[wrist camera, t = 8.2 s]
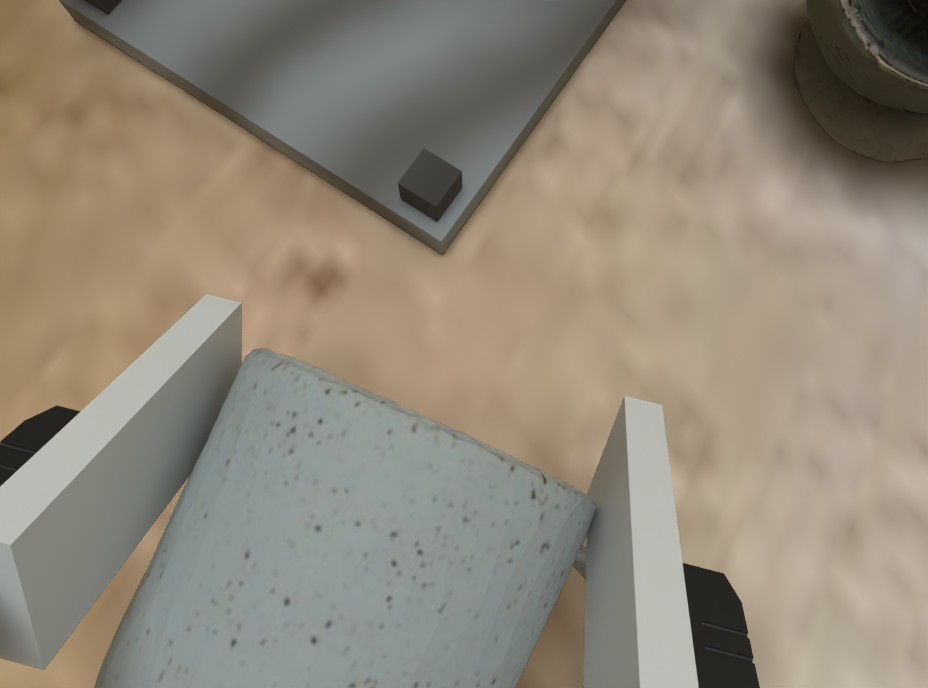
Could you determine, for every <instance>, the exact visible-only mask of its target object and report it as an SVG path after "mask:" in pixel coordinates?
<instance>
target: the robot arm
mask: <svg viewBox="0 0 928 688" xmlns="http://www.w3.org/2000/svg"><path fill="white" fill-rule="evenodd" d="M241 364H242V303H241V302H237V301H233V300H229V299H225V298H220V297H216V296H212V295H208V294H206V295H205V296H204V297H203V298H202V299H201V300H200V301H199V302H198V303H196V304H195V305H194V306H193V307H192V308H191V309H190V310H189V311H188V312H187V313H186V314H185V315H184V316H183V317H181V318H180V319H179V320H178V321H177V322H176V323H175V324H174V325H173V326H172V327H171V328H170V329H169V330H168V331H166V332H165V333H164V334H163V335H162V336H161V337H160V338H159V339H158V340H157V341H156V342H155V343H154V344H153V345H151V346H150V347H149V348H148V349H147V350H146V351H145V352H144V353H143V354H142V355H141V356H140V357H139V358H138V359H136V360H135V361H134V362H133V363H132V364H131V365H130V366H129V367H128V368H127V369H126V370H125V371H124V372H123V373H121V374H120V375H119V376H118V377H117V378H116V379H115V380H114V381H113V382H112V383H111V384H110V385H109V386H108V387H106V388H105V389H104V390H103V391H102V392H101V393H100V394H99V395H98V396H97V397H96V398H95V399H94V400H93V401H91V402H90V403H89V404H88V405H87V406H86V407H85V408H84V409H83V410H82V411H81V412H80V411H76V410H72V409H68V408H64V407H60V406H55V407H53V408H51V409H49V410H46V411H44V412H42V413H40V414H38V415H36V416H34V417H32V418H29V419H27V420H25V421H24V422H23V423H21V424H20V425H19V426H18V427H17V428H16V429H14V430H13V431H12V432H11V433H10V434H9V435H7V436H6V437H5V438H4V439H3V440H2V441H1V443H0V658H2V659H6V660H9V661H13V662H17V663H20V664H24V665H28V666H31V667H35V668H39V669H42V670H45V668H46V667H47V666H48V664H49V663H50V662H51V660H52V659H53V658H54V656H55V655H56V654H57V652H58V651H59V650H60V648H61V647H62V646H63V644H64V643H65V642H66V640H67V639H68V638H69V636H70V635H71V634H72V632H73V631H74V629H75V628H76V627H77V625H78V624H79V623H80V621H81V620H82V619H83V617H84V616H85V615H86V613H87V612H88V611H89V609H90V608H91V607H92V605H93V604H94V603H95V601H96V600H97V599H98V597H99V596H100V595H101V593H102V592H103V591H104V589H105V588H106V587H107V585H108V584H109V583H110V581H111V580H112V579H113V577H114V576H115V575H116V573H117V572H118V571H119V569H120V568H121V567H122V565H123V564H124V563H125V561H126V560H127V559H128V557H129V556H130V555H131V553H132V552H133V551H134V549H135V548H136V547H137V545H138V544H139V543H140V541H141V540H142V539H143V537H144V536H145V534H146V533H147V532H148V530H149V529H150V528H151V526H152V525H153V524H154V522H155V521H156V520H157V518H158V517H159V516H160V514H161V513H162V512H163V510H164V509H165V508H166V506H167V505H168V504H169V502H170V501H171V500H172V498H173V497H174V496H175V494H176V493H177V492H178V490H179V489H180V488H181V486H182V485H183V484H184V482H185V481H186V480H187V478H188V477H189V476H190V474H191V473H192V471H193V468H194V466H195V464H196V462H197V460H198V458H199V456H200V454H201V452H202V450H203V448H204V446H205V444H206V443H207V440H208V438H209V435H210V432H211V430H212V428H213V426H214V424H215V422H216V420H217V418H218V416H219V413H220V411H221V408H222V406H223V404H224V402H225V400H226V398H227V395H228V393H229V391H230V389H231V387H232V385H233V383H234V380H235V378H236V376H237V373H238V371H239V369H240V367H241ZM588 496H589V497H590V498H591V499H592V501H593V502H594V504H595V506H596V510H595V513H594V516H593V519H592V522H591V525H590V528H589V531H588V533H587V545H586V592H585V639H584V686H583V688H760V687H759V682H758V678H757V673H756V668H755V664H753V663H752V660H753V654H752V649H751V644H750V640H749V638H747V634H748V630H747V626H746V621H745V616H744V611H743V607H742V602H741V601H740V599H739V597H738V596H737V594H736V593H735V591H734V589H733V588H732V586H731V584H730V583H729V581H728V580H727V578H726V576H725V575H724V573H720V572H716V571H712V570H708V569H704V568H700V567H696V566H692V565H688V564H684V563H682V556H681V548H680V540H679V533H678V525H677V517H676V510H675V502H674V495H673V487H672V479H671V472H670V464H669V456H668V449H667V441H666V433H665V426H664V418H663V410H662V405H660V404H656V403H652V402H648V401H643V400H639V399H635V398H631V397H627V396H624V399H623V401H622V404H621V406H620V409H619V412H618V414H617V417H616V420H615V422H614V425H613V427H612V430H611V433H610V435H609V438H608V440H607V443H606V446H605V448H604V451H603V454H602V456H601V459H600V461H599V464H598V467H597V469H596V472H595V475H594V477H593V480H592V482H591V485H590V488H589V490H588Z"/></svg>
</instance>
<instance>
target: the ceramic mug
mask: <svg viewBox="0 0 928 688" xmlns="http://www.w3.org/2000/svg"><path fill="white" fill-rule="evenodd" d="M595 510H596V506H595V504H594V502H593V501H592V499H591V498H590V497H589V496H588V495H586V494H584V493H582V492H580V491H579V490H577V489H576V488H575V487H573V486H571V485H568V484H566V483H565V482H563V481H561V480H558V479H556V478H554V477H552V476H550V475H548V474H547V473H545V472H543V471H541V470H539V469H537V468H535V467H532V466H530V465H528V464H525V463H523V462H521V461H520V460H518V459H516V458H514V457H512V456H510V455H508V454H506V453H504V452H501V451H499V450H497V449H495V448H493V447H490V446H488V445H486V444H484V443H482V442H480V441H478V440H476V439H475V438H473V437H471V436H469V435H467V434H464V433H462V432H459V431H456V430H454V429H452V428H450V427H448V426H446V425H443V424H441V423H438V422H436V421H433V420H431V419H429V418H426V417H424V416H423V415H421V414H419V413H417V412H415V411H413V410H410V409H406V408H403V407H401V406H399V405H398V404H396V403H395V402H393V401H391V400H388V399H385V398H382V397H380V396H377V395H375V394H373V393H370V392H368V391H366V390H363V389H361V388H359V387H357V386H355V385H352V384H350V383H348V382H346V381H344V380H342V379H340V378H337V377H335V376H333V375H331V374H329V373H327V372H325V371H323V370H321V369H318V368H316V367H314V366H312V365H310V364H308V363H305V362H303V361H300V360H298V359H295V358H292V357H289V356H286V355H282V354H276V353H274V352H272V351H271V350H268V349H265V348H259V349H255V350H253V351H252V352H251V353H249V354H248V355H247V356H246V357H245V359H244V360H243V362H242V364H241V367H240V369H239V371H238V373H237V376H236V378H235V380H234V383H233V385H232V387H231V389H230V391H229V393H228V395H227V398H226V400H225V402H224V404H223V406H222V408H221V411H220V413H219V416H218V418H217V420H216V422H215V424H214V426H213V428H212V430H211V432H210V435H209V438H208V440H207V443H206V444H205V446H204V448H203V450H202V452H201V454H200V456H199V458H198V460H197V462H196V464H195V466H194V468H193V471H192V473H191V475H190V477H189V479H188V481H187V483H186V485H185V487H184V489H183V491H182V493H181V496H180V498H179V500H178V502H177V504H176V506H175V509H174V511H173V513H172V516H171V518H170V520H169V522H168V524H167V526H166V529H165V531H164V533H163V535H162V537H161V540H160V542H159V544H158V547H157V549H156V552H155V554H154V556H153V558H152V560H151V562H150V564H149V566H148V568H147V570H146V572H145V574H144V576H143V578H142V580H141V582H140V584H139V586H138V588H137V590H136V592H135V594H134V596H133V598H132V600H131V602H130V604H129V606H128V608H127V610H126V612H125V615H124V617H123V619H122V621H121V623H120V625H119V627H118V629H117V631H116V633H115V636H114V638H113V640H112V643H111V645H110V647H109V650H108V652H107V654H106V656H105V658H104V660H103V663H102V666H101V669H100V672H99V674H98V677H97V681H96V684H95V688H515V687H516V685H517V683H518V681H519V679H520V677H521V675H522V672H523V670H524V668H525V666H526V664H527V662H528V660H529V658H530V656H531V653H532V651H533V649H534V647H535V645H536V643H537V640H538V638H539V636H540V634H541V632H542V630H543V627H544V625H545V623H546V621H547V619H548V617H549V615H550V613H551V610H552V608H553V606H554V604H555V602H556V600H557V598H558V596H559V593H560V591H561V589H562V587H563V585H564V583H565V581H566V579H567V577H568V574H569V572H570V570H571V568H572V566H574V567H575V568H576V569H577V570H578V571H579V572H580V574H581V575H582V576H583V577H584V579H585V580H586V547H585V546H583V543H584V540H585V538H586V535H587V533H588V531H589V528H590V525H591V522H592V519H593V516H594V513H595Z"/></svg>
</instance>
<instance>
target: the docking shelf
mask: <svg viewBox="0 0 928 688" xmlns="http://www.w3.org/2000/svg"><path fill="white" fill-rule="evenodd" d="M59 1H60V2H61V3H62V5H63V6H64V7H65V8H66V10H67V11H68V12H69V13H70V15H71V16H72V17H73V18H74V20H75V21H76V22H78V23H79V24H81V25H82V26H84V27H85V28H87V29H89V30H90V31H92V32H93V33H95V34H96V35H98V36H100V37H101V38H103V39H104V40H106V41H107V42H109V43H111V44H112V45H114V46H115V47H117V48H118V49H120V50H122V51H123V52H125V53H126V54H128V55H129V56H131V57H133V58H134V59H136V60H137V61H139V62H140V63H142V64H144V65H145V66H147V67H148V68H150V69H151V70H153V71H155V72H156V73H158V74H159V75H161V76H162V77H164V78H166V79H167V80H169V81H170V82H172V83H173V84H175V85H177V86H178V87H180V88H181V89H183V90H184V91H186V92H188V93H189V94H191V95H192V96H194V97H195V98H197V99H199V100H200V101H202V102H203V103H205V104H206V105H208V106H210V107H211V108H213V109H214V110H216V111H217V112H219V113H221V114H222V115H224V116H225V117H227V118H228V119H230V120H232V121H233V122H235V123H236V124H238V125H239V126H241V127H243V128H244V129H246V130H247V131H249V132H250V133H252V134H254V135H255V136H257V137H258V138H260V139H261V140H263V141H265V142H266V143H268V144H269V145H271V146H272V147H274V148H276V149H277V150H279V151H280V152H282V153H283V154H285V155H287V156H288V157H290V158H291V159H293V160H294V161H296V162H297V163H299V164H301V165H302V166H304V167H305V168H307V169H308V170H310V171H312V172H313V173H315V174H316V175H318V176H319V177H321V178H323V179H324V180H326V181H327V182H329V183H330V184H332V185H334V186H335V187H337V188H338V189H340V190H341V191H343V192H345V193H346V194H348V195H349V196H351V197H352V198H354V199H356V200H357V201H359V202H360V203H362V204H363V205H365V206H367V207H368V208H370V209H371V210H373V211H374V212H376V213H378V214H379V215H381V216H382V217H384V218H385V219H387V220H389V221H390V222H392V223H393V224H395V225H396V226H398V227H400V228H401V229H403V230H404V231H406V232H407V233H409V234H411V235H412V236H414V237H415V238H417V239H418V240H420V241H422V242H423V243H425V244H426V245H428V246H429V247H431V248H433V249H434V250H436V251H437V252H439V253H440V254H443V253H444V252H445V250H446V249H447V247H448V246H449V245H450V243H451V242H452V241H453V239H454V238H455V236H456V235H457V234H458V232H459V231H460V229H461V228H462V227H463V225H464V224H465V223H466V221H467V220H468V218H469V217H470V216H471V214H472V213H473V211H474V210H475V209H476V207H477V206H478V205H479V203H480V202H481V200H482V199H483V198H484V196H485V195H486V193H487V192H488V191H489V189H490V188H491V187H492V185H493V184H494V182H495V181H496V180H497V178H498V177H499V175H500V174H501V173H502V171H503V170H504V169H505V167H506V166H507V164H508V163H509V162H510V160H511V159H512V158H513V156H514V155H515V153H516V152H517V151H518V149H519V148H520V146H521V145H522V144H523V142H524V141H525V140H526V138H527V137H528V135H529V134H530V133H531V131H532V130H533V128H534V127H535V126H536V124H537V123H538V122H539V120H540V119H541V117H542V116H543V115H544V113H545V112H546V110H547V109H548V108H549V106H550V105H551V104H552V102H553V101H554V99H555V98H556V97H557V95H558V94H559V92H560V91H561V90H562V88H563V87H564V86H565V84H566V83H567V81H568V80H569V79H570V77H571V76H572V74H573V73H574V72H575V70H576V69H577V68H578V66H579V65H580V63H581V62H582V61H583V59H584V58H585V56H586V55H587V54H588V52H589V51H590V50H591V48H592V47H593V45H594V44H595V43H596V41H597V40H598V38H599V37H600V36H601V34H602V33H603V32H604V30H605V29H606V27H607V26H608V25H609V23H610V22H611V20H612V19H613V18H614V16H615V15H616V14H617V12H618V11H619V9H620V8H621V7H622V5H623V4H624V2H625V1H626V0H59Z"/></svg>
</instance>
